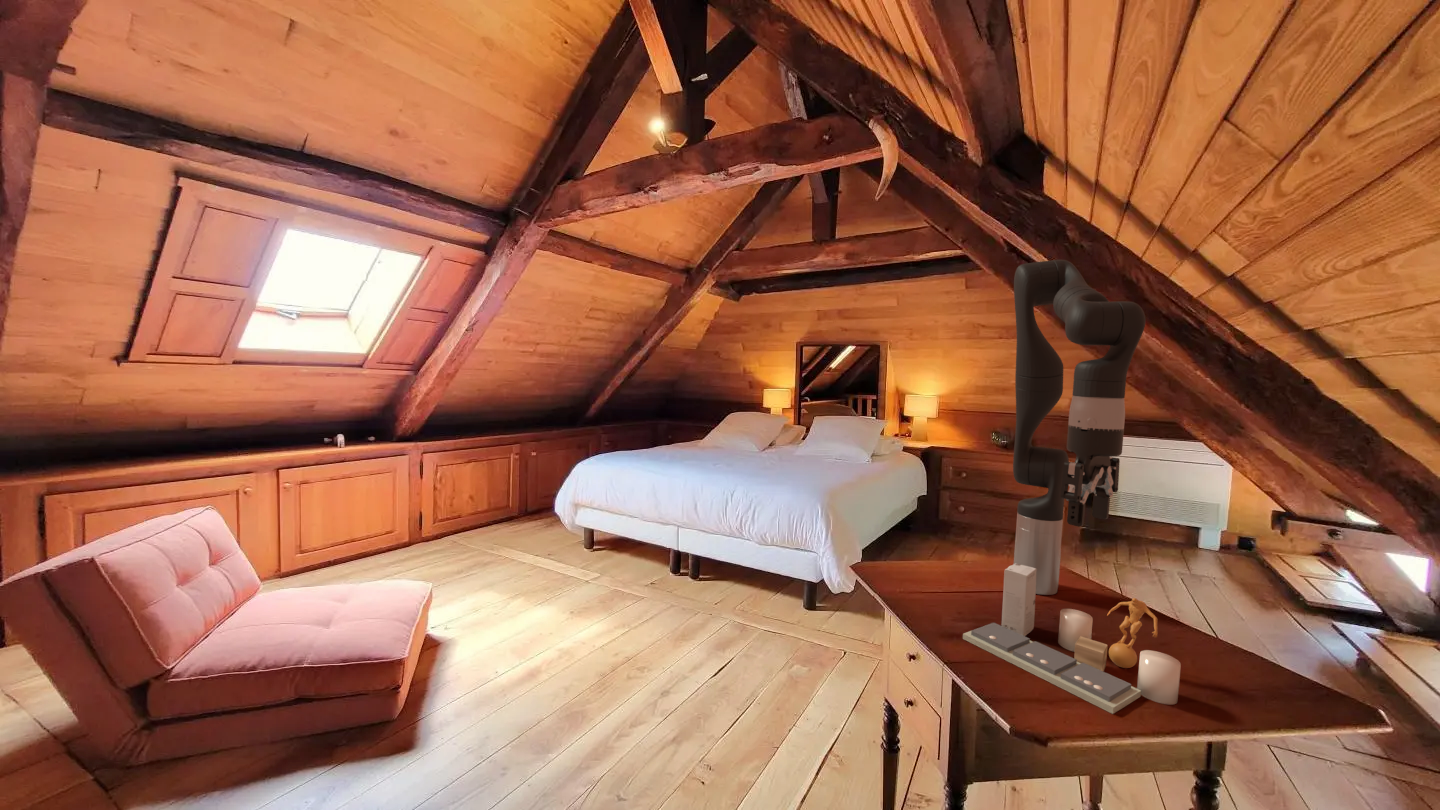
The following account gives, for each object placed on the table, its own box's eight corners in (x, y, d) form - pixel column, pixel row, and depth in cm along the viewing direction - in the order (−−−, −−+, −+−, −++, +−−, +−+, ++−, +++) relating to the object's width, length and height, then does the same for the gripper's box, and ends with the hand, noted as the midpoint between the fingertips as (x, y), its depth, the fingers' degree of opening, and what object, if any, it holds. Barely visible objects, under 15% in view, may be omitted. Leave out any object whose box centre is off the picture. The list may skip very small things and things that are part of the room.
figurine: (1090, 655, 97) (1095, 590, 96) (1115, 651, 99) (1120, 587, 98) (1138, 681, 89) (1144, 611, 88) (1164, 676, 91) (1170, 607, 90)
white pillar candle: (1145, 682, 89) (1148, 647, 89) (1183, 698, 85) (1186, 662, 84) (1131, 690, 87) (1134, 654, 86) (1169, 708, 82) (1172, 670, 82)
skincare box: (1024, 638, 103) (1029, 576, 102) (999, 629, 106) (1003, 569, 105) (1034, 627, 107) (1039, 568, 106) (1010, 619, 110) (1014, 561, 110)
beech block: (1078, 657, 97) (1080, 636, 96) (1105, 667, 94) (1107, 644, 93) (1073, 666, 94) (1075, 644, 93) (1101, 676, 91) (1103, 653, 91)
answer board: (991, 628, 107) (992, 619, 106) (1140, 696, 85) (1141, 685, 85) (962, 638, 102) (963, 629, 102) (1112, 714, 81) (1113, 702, 80)
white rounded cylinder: (1066, 636, 104) (1069, 606, 103) (1095, 648, 100) (1098, 617, 99) (1052, 643, 101) (1055, 612, 101) (1081, 655, 97) (1084, 623, 97)
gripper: (1090, 420, 96) (1083, 511, 97) (1049, 423, 88) (1041, 521, 89) (1141, 425, 89) (1133, 521, 90) (1101, 429, 82) (1092, 534, 83)
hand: (1087, 521), depth 90 cm, fingers open, 8 cm apart
